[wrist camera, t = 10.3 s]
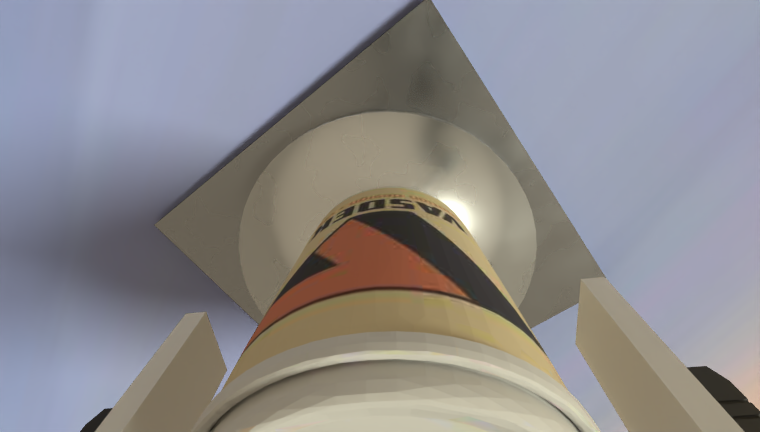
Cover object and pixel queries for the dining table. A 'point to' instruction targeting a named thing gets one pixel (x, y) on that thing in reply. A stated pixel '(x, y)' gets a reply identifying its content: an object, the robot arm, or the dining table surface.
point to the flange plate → (386, 175)
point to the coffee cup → (393, 335)
